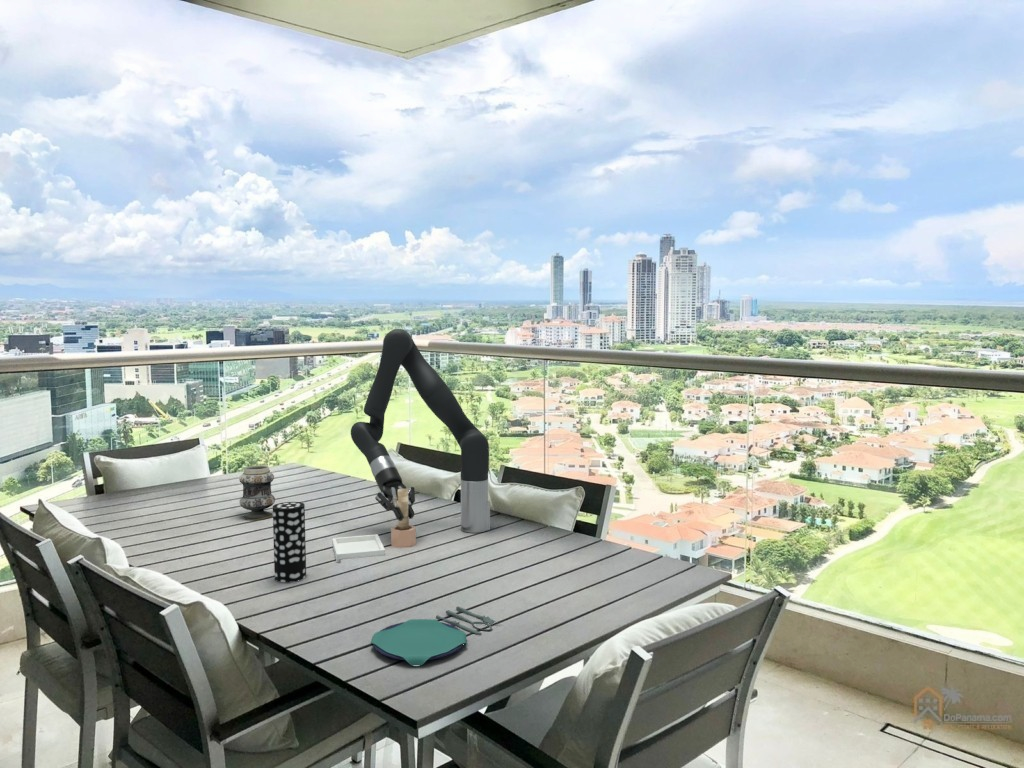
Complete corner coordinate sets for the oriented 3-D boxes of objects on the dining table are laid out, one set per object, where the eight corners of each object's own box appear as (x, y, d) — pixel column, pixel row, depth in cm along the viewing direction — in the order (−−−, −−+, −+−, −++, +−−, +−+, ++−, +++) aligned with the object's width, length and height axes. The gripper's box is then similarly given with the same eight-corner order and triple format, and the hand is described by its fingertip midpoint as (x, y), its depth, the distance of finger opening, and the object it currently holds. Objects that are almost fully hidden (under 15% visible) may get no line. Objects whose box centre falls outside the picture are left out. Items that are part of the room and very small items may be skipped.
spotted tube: (297, 583, 197) (295, 510, 196) (268, 581, 199) (266, 508, 197) (311, 573, 206) (310, 502, 204) (284, 571, 207) (282, 501, 206)
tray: (377, 542, 235) (377, 534, 235) (385, 558, 219) (385, 549, 218) (332, 546, 231) (332, 538, 230) (336, 562, 214) (336, 554, 214)
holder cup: (413, 542, 234) (413, 523, 234) (417, 549, 227) (417, 530, 227) (389, 544, 232) (389, 525, 232) (393, 551, 225) (392, 532, 224)
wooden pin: (407, 538, 232) (407, 488, 230) (409, 541, 229) (408, 490, 227) (397, 539, 231) (396, 489, 229) (399, 542, 228) (398, 491, 226)
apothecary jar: (275, 511, 273) (273, 463, 272) (275, 519, 262) (274, 469, 261) (240, 513, 270) (239, 465, 268) (239, 522, 258) (237, 471, 257)
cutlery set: (353, 647, 159) (353, 637, 159) (454, 609, 181) (454, 600, 181) (414, 677, 146) (414, 666, 146) (515, 633, 168) (515, 623, 168)
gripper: (370, 469, 229) (391, 515, 221) (408, 463, 238) (430, 507, 230) (361, 483, 233) (382, 529, 225) (400, 477, 242) (421, 520, 234)
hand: (406, 518), depth 227 cm, fingers closed on wooden pin, 3 cm apart
